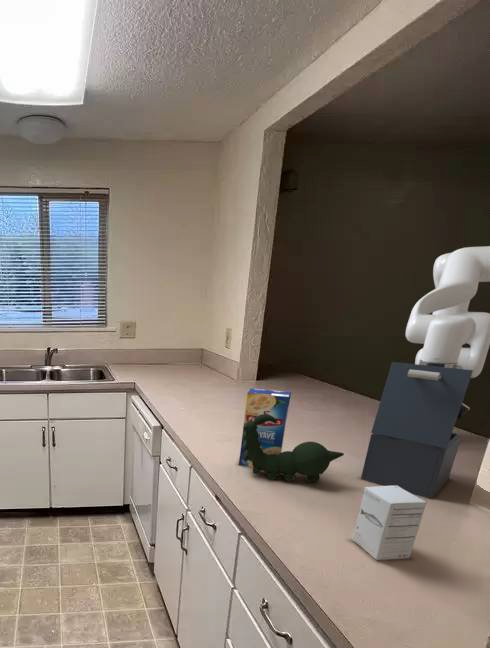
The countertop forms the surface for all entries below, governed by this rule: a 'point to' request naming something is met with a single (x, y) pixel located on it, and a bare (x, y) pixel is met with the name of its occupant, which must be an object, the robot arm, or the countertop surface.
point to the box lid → (421, 403)
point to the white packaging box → (388, 522)
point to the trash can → (409, 464)
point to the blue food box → (268, 431)
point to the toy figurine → (285, 455)
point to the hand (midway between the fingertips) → (419, 431)
